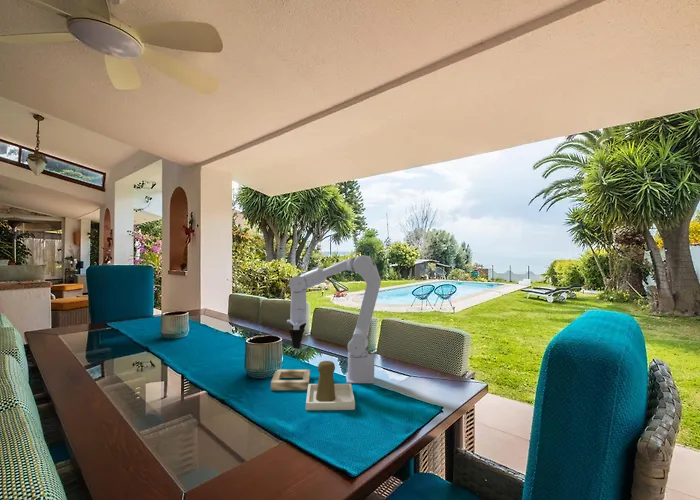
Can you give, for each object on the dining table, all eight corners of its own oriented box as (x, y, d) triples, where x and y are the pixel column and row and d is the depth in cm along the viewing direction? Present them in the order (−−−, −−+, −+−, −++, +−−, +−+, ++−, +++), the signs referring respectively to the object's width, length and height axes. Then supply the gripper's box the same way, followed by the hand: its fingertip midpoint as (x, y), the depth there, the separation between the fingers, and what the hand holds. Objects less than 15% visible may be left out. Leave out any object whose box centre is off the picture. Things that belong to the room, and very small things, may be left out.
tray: (351, 389, 110) (351, 383, 110) (354, 409, 96) (355, 402, 96) (308, 390, 109) (308, 383, 109) (305, 410, 95) (305, 403, 95)
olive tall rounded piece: (330, 403, 99) (331, 366, 99) (312, 400, 101) (313, 363, 101) (338, 395, 104) (339, 360, 104) (321, 392, 106) (321, 357, 107)
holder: (309, 376, 121) (310, 369, 121) (308, 390, 109) (308, 382, 109) (276, 376, 120) (276, 369, 120) (270, 390, 108) (270, 382, 108)
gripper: (289, 305, 131) (288, 340, 131) (285, 311, 117) (283, 350, 117) (307, 305, 132) (306, 340, 132) (305, 311, 117) (304, 350, 117)
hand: (297, 345), depth 124 cm, fingers open, 7 cm apart
